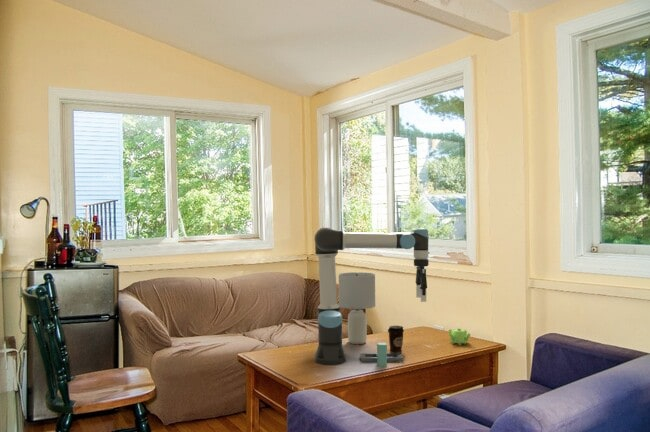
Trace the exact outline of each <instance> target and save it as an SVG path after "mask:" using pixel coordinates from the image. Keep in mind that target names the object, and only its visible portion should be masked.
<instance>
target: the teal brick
mask: <svg viewBox="0 0 650 432" xmlns="http://www.w3.org/2000/svg"><path fill="white" fill-rule="evenodd" d="M376 351H377V362H376V365H377V366H378V367H387V366H388V362H387V353H388V346H387V343H386V342H377V343H376Z"/></svg>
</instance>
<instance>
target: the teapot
mask: <svg viewBox="0 0 650 432" xmlns="http://www.w3.org/2000/svg"><path fill="white" fill-rule="evenodd" d="M448 332H449V335H448V336H449V337H450V338H449V339H450V341H451V342H452V343H453V344H454V345H455V344H458V346H462V345H466V344H467V342H468V341H469V338H470V337H471V334H470V333H467V330H466V329H462V328H461V327H457V329H454V330H453V331H452V329H449V330H448Z"/></svg>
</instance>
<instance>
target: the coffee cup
mask: <svg viewBox="0 0 650 432" xmlns="http://www.w3.org/2000/svg"><path fill="white" fill-rule="evenodd" d="M404 331H405V329H404V327H403V326H402V325H389V327H388V329H387V332H388V341H389V342H388V343H389V353H400V354H401V353H402V351H403V350H402V348H403V345H404V344H403V343H404V342H403V340H404Z"/></svg>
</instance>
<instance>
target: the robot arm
mask: <svg viewBox="0 0 650 432" xmlns="http://www.w3.org/2000/svg"><path fill="white" fill-rule="evenodd" d="M412 248H413V266H414V267H416V268H415V269H416V271H415V272H416V273H415V285H416V287H415V290H416V293H415V295H416V297H415V298H420V302H421V303H426V302H427V288H428V282H427V281H428V280H427V269H426V268H425V267H429V261H430V260H429V254H430V252H429V230H428V229H427V228H414V229H413V231H412V232H398V231H396V232H390V233H388V232H387V233H386V232H385V233H384V232H345V231H344V230H339V229H338V230H336V229H332V228H331V227H322V228H319V229H318V230H317V231H316V233H315V234H314V250H315V253H314V254H315V256H317V258H318V277H319V279H318V280H319V301H320V303H319V305H318V306H317V324H318V326H317V327H318V335H317V337H318V339H317V340H318V344H317V345H318V346H317V348H316V353H315V354H314V355H315V356H314V361H315V363H318V364H320V365H329V366H330V365H333V366H334V365H340V364H344V363H345V362H346V361H347V355H346V351H345V349H344V346H343V315H342V313H341V307H340V306H339V303H338V299H337V298H338V297H337V294H338V293H337V273H336V272H337V271H336V268H337V267H336V256H337V255H338V254H339V251H344V250H345V249H398V250H399V249H405V250H410V249H412Z"/></svg>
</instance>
